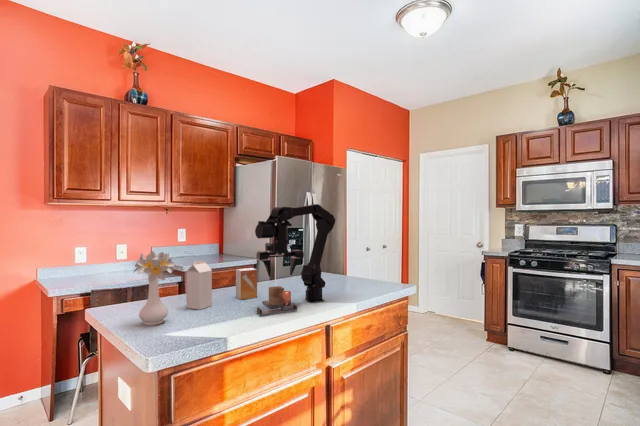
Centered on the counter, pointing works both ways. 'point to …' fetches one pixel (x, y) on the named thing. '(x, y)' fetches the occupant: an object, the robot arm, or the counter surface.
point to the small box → (246, 283)
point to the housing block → (276, 294)
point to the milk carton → (199, 286)
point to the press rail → (275, 311)
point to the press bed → (271, 304)
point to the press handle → (286, 301)
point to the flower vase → (154, 285)
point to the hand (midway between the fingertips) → (280, 275)
